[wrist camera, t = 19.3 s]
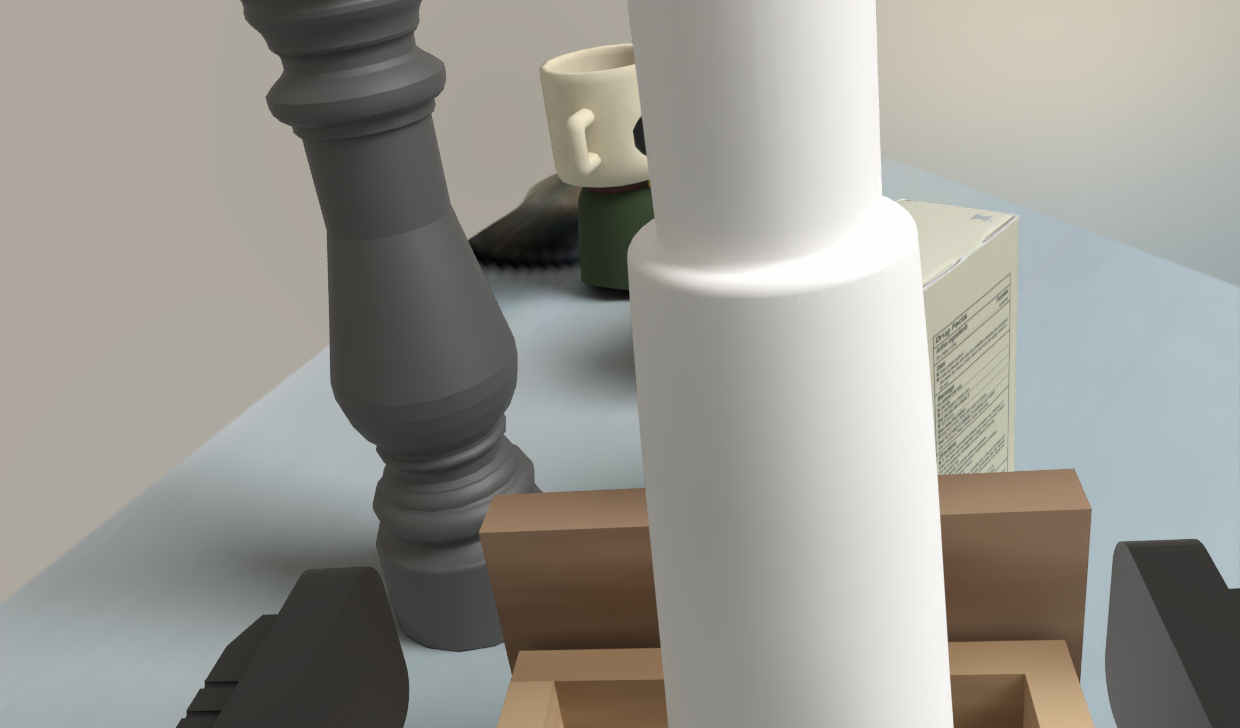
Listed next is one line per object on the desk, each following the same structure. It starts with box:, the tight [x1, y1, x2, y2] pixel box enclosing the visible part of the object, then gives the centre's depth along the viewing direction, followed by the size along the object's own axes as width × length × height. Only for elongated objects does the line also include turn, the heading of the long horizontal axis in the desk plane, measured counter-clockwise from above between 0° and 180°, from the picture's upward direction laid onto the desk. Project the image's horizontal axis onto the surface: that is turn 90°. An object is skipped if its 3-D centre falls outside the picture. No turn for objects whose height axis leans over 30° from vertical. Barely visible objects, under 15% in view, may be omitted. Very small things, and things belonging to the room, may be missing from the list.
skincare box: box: [895, 199, 1019, 475], centre depth 37 cm, size 6×4×12 cm
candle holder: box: [241, 0, 543, 651], centre depth 35 cm, size 6×6×25 cm
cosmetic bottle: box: [627, 0, 954, 728], centre depth 16 cm, size 6×6×22 cm
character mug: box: [540, 44, 655, 291], centre depth 63 cm, size 11×7×13 cm, turn 159°
